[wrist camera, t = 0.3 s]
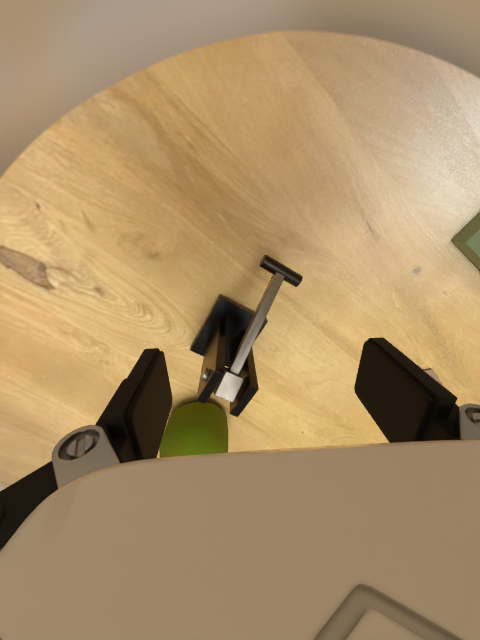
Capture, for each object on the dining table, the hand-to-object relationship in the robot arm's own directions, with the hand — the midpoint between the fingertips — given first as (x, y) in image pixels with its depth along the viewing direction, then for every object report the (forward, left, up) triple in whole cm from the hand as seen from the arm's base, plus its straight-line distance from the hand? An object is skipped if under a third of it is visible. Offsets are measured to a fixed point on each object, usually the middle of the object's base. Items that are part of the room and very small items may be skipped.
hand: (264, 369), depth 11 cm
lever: (+6, 0, -16) cm, 17 cm away
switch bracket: (+10, -3, -24) cm, 26 cm away
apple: (+27, -10, -24) cm, 38 cm away
